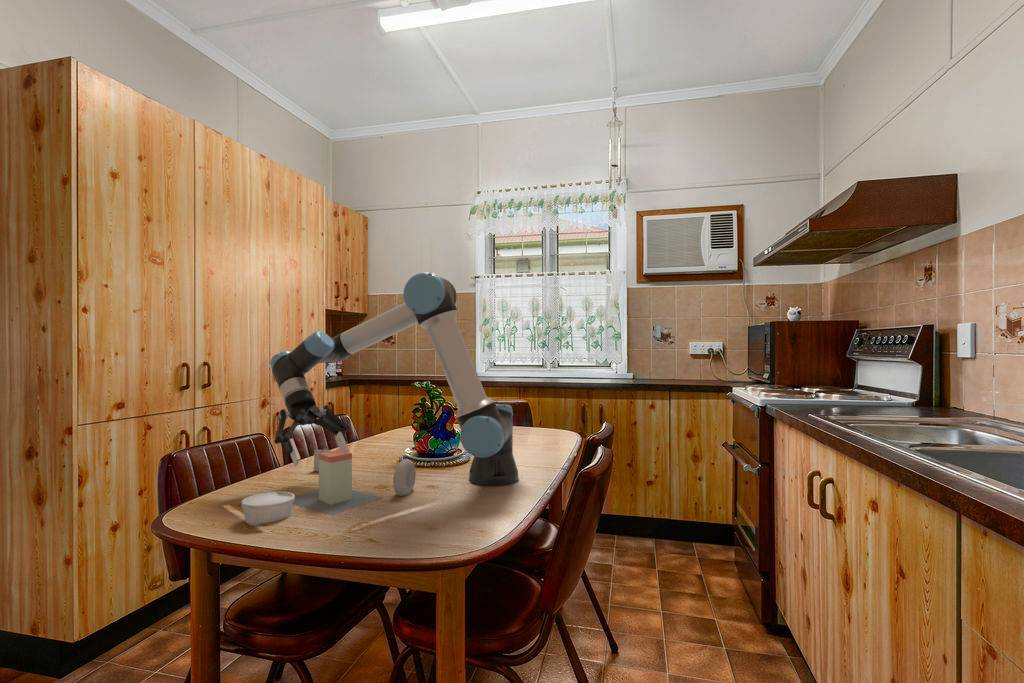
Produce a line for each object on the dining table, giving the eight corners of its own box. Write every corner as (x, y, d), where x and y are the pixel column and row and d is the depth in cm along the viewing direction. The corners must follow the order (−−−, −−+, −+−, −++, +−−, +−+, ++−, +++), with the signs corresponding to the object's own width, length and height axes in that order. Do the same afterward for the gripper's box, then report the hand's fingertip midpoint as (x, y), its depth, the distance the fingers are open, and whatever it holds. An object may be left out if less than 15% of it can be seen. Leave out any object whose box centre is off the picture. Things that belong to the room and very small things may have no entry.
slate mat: (382, 500, 131) (382, 497, 131) (332, 519, 117) (332, 514, 117) (333, 488, 142) (333, 485, 142) (281, 504, 128) (281, 500, 128)
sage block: (318, 499, 129) (318, 453, 129) (340, 494, 133) (340, 449, 133) (330, 504, 125) (330, 457, 125) (351, 499, 129) (351, 453, 129)
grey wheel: (402, 502, 130) (402, 464, 130) (390, 501, 130) (390, 463, 130) (417, 491, 140) (417, 455, 140) (406, 490, 140) (406, 455, 140)
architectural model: (318, 470, 164) (318, 447, 164) (338, 470, 164) (338, 448, 164) (313, 472, 161) (313, 449, 161) (334, 473, 160) (334, 450, 160)
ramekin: (305, 516, 120) (305, 494, 120) (265, 532, 110) (265, 508, 110) (271, 509, 124) (272, 488, 124) (230, 524, 114) (230, 501, 114)
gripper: (334, 401, 153) (359, 457, 143) (248, 409, 135) (270, 474, 125) (342, 385, 150) (369, 442, 140) (255, 391, 131) (279, 457, 121)
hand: (322, 457), depth 132 cm, fingers open, 13 cm apart
